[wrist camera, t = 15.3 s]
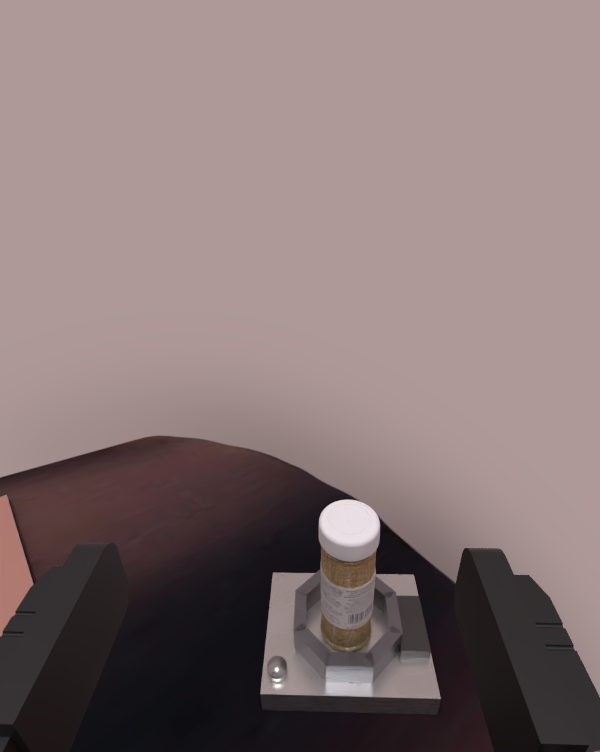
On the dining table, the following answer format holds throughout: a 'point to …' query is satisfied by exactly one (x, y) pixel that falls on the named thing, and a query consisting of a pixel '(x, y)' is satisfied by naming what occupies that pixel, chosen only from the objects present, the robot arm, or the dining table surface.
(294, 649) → the octagonal ring base plate
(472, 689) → the dining table surface
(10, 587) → the notebook
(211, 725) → the dining table surface
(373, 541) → the sprinkles bottle
